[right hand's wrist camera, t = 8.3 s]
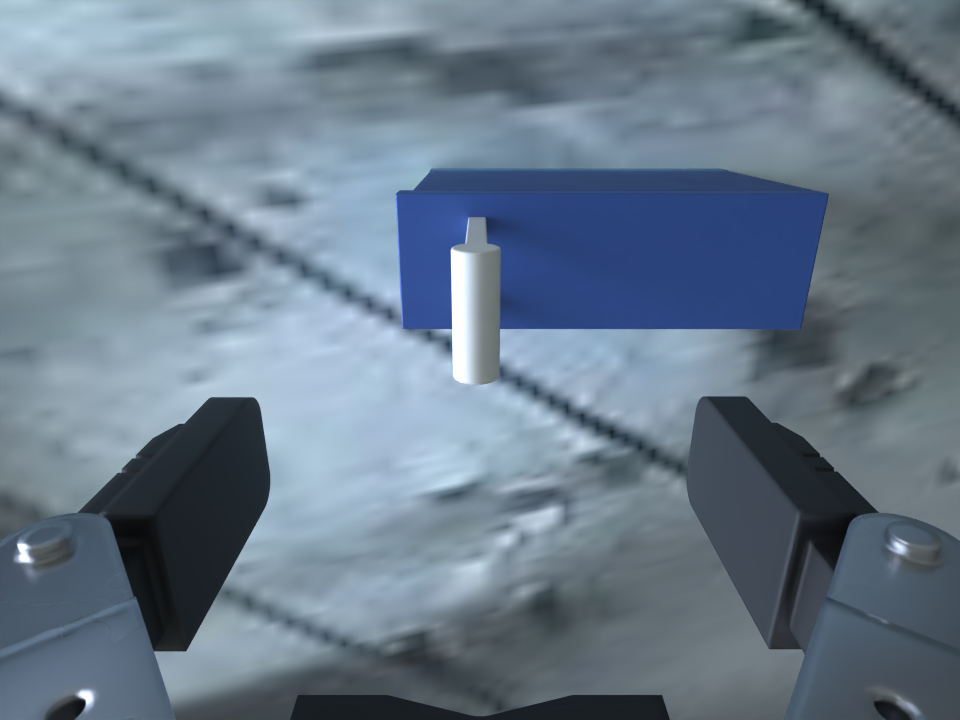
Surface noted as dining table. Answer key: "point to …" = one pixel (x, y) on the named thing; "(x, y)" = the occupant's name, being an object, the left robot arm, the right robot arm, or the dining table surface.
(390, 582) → the dining table surface
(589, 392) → the dining table surface
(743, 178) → the chest
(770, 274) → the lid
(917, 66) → the dining table surface
